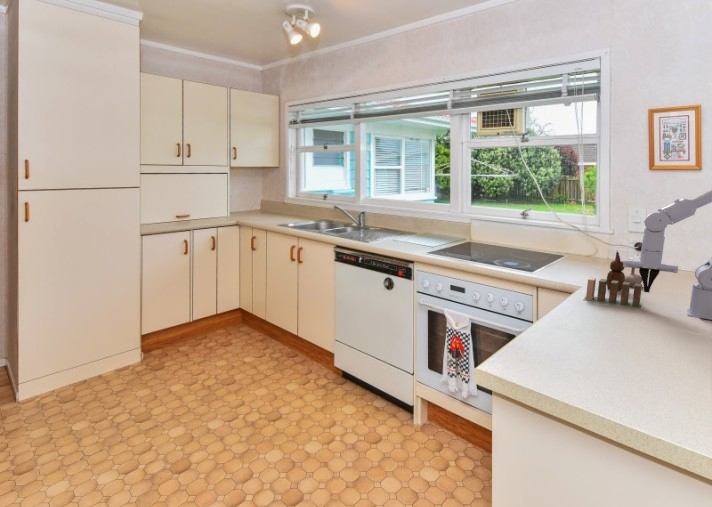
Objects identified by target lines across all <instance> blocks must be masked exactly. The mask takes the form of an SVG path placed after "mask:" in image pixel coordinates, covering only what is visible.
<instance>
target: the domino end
mask: <svg viewBox="0 0 712 507" xmlns="http://www.w3.org/2000/svg"><path fill="white" fill-rule="evenodd" d="M596 282H597V278H596V277H589V278H588V279H587V285H586V286H587V287H586V296H585V297H586V299H587V300H592V299H593V298H594V296H595V292H596Z"/></svg>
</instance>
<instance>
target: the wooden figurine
mask: <svg viewBox="0 0 712 507" xmlns="http://www.w3.org/2000/svg"><path fill="white" fill-rule="evenodd" d="M623 263H624V261H621V257H620V252H618V250H616V254H615V259H614V260H612V261H610V264H609V269H610V271H609V272H608V273H607V276H606V279H607V285H606V289H607V290H609V291H610V284H611V282H612V280H615V281H619V282H618V290H617V292H620V291H621V292H622V284H623V283H624V281H625V275H626V274H625V273H624V272H623V271H624V270H625V267H623Z"/></svg>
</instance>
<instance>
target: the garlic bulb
mask: <svg viewBox="0 0 712 507" xmlns="http://www.w3.org/2000/svg"><path fill="white" fill-rule="evenodd" d="M635 270H636V268H631V270H630V271H631V272H630V274H624V275H625V281H624V282H630V287H633V288H634V286H635V284H636V283H638V284H643V281H642V278H641V275H640V274H637V273H635Z"/></svg>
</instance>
